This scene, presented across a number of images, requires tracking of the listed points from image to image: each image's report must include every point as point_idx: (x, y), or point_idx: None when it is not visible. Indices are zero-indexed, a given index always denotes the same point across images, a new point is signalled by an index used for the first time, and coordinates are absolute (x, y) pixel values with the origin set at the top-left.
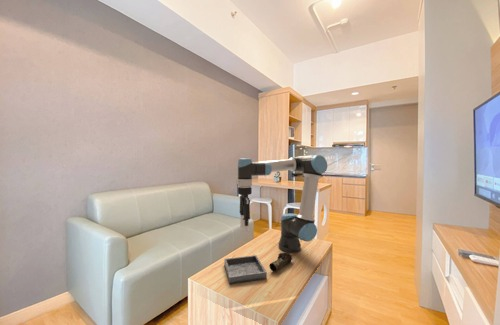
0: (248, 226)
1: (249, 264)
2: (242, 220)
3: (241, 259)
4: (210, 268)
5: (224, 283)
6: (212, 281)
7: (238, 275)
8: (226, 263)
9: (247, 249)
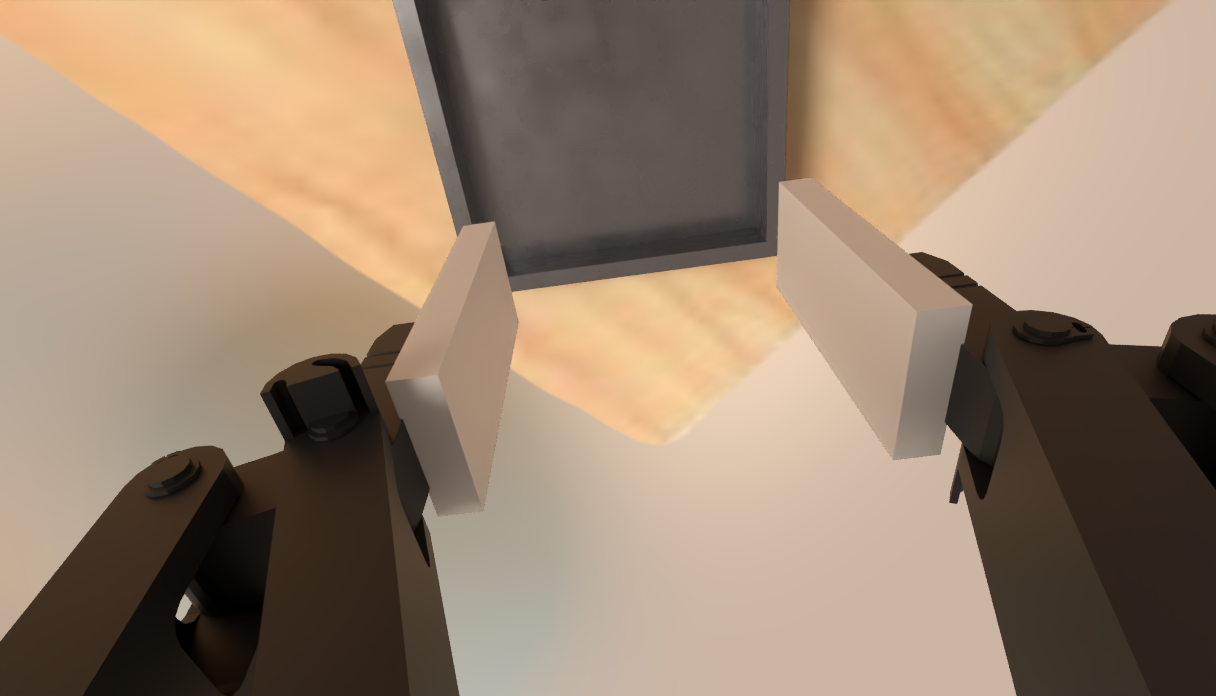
0: (856, 219)
1: (506, 33)
2: (492, 370)
3: (450, 125)
4: (531, 369)
5: (741, 268)
6: (700, 344)
7: (774, 182)
8: (558, 279)
9: (81, 2)
